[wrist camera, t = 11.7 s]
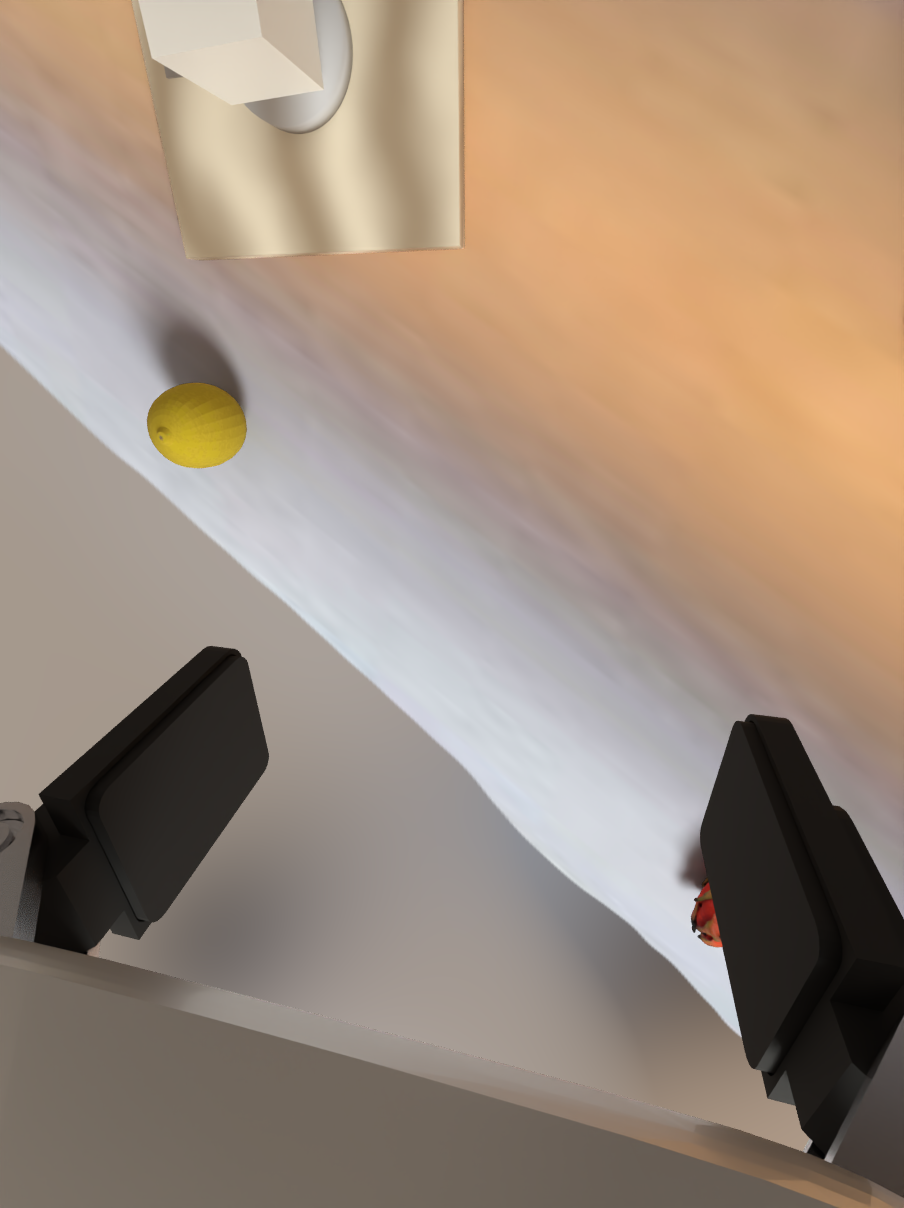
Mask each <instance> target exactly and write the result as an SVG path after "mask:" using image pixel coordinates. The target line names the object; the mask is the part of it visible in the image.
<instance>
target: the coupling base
mask: <svg viewBox="0 0 904 1208" xmlns="http://www.w3.org/2000/svg"><path fill="white" fill-rule="evenodd" d="M131 1H132V6H133V10H134V15H135V20H136V24H137V29H138V34H139V38H140V43H141V48H142V52H143V57H144V62H145V67H146V71H147V76H148V81H149V85H150V90H151V95H152V99H153V104H154V109H155V113H156V118H157V123H158V128H159V132H160V137H161V142H162V146H163V151H164V156H165V160H166V165H167V170H168V174H169V179H170V184H171V188H172V193H173V198H174V203H175V207H176V212H177V217H178V221H179V226H180V231H181V235H182V240H183V245H184V249H185V254H186V258H187V259H195V260H219V259H242V258H265V257H288V256H311V255H334V254H357V253H379V252H402V251H425V250H448V249H465V216H464V7H463V0H313V7H314V15H315V23H316V31H317V39H318V47H319V55H320V62H321V70H322V78H323V86H324V90H320V91H314V92H308V93H302V94H296V95H290V96H284V97H278V98H272V99H266V100H260V101H254V102H248V103H242V104H236V105H230V104H229V103H227V102H225V101H224V100H222V99H220V98H218V97H217V96H215V95H213V94H212V93H210V92H208V91H207V90H205V89H203V88H202V87H200V86H198V85H196V84H195V83H193V82H191V81H190V80H188V79H186V78H185V77H183V76H181V75H180V74H178V73H176V72H174V71H173V70H171V69H169V68H168V67H166V66H164V65H163V64H161V63H159V62H157V61H156V60H154V59H152V57H151V53H150V48H149V44H148V40H147V35H146V31H145V27H144V23H143V18H142V14H141V10H140V6H139V1H138V0H131Z"/></svg>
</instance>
